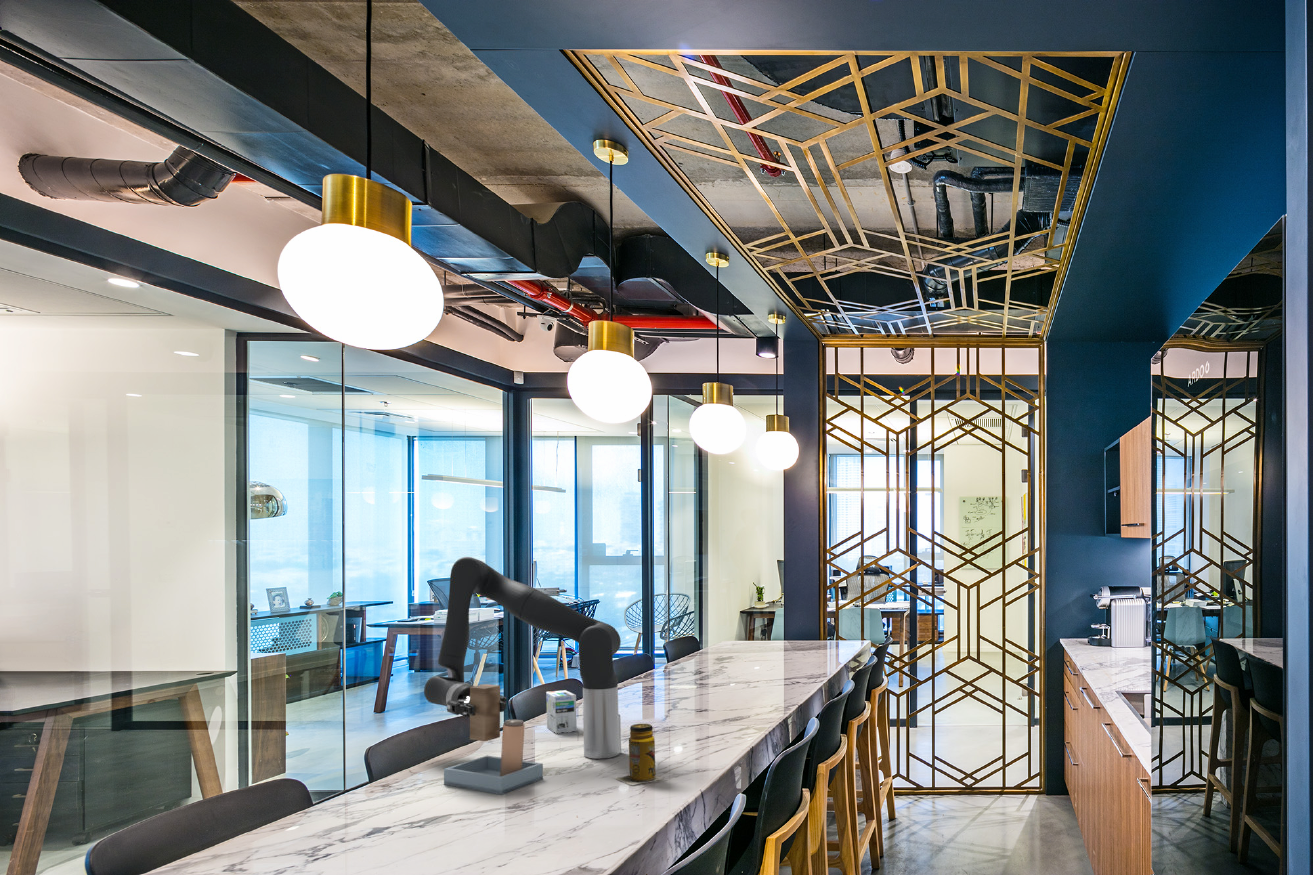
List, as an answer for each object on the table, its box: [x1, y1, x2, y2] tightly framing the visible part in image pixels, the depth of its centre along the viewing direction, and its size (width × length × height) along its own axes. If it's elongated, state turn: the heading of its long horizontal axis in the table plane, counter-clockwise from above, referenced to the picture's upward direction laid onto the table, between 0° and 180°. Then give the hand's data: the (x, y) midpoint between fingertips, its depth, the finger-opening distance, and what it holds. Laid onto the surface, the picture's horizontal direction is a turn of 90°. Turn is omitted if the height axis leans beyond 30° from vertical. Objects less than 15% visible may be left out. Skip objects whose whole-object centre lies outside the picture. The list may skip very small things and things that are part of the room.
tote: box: [443, 755, 544, 795], centre depth 196 cm, size 14×18×4 cm
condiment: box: [615, 723, 663, 786], centre depth 194 cm, size 7×8×12 cm
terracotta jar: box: [500, 719, 526, 776], centre depth 195 cm, size 5×5×13 cm
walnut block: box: [469, 683, 501, 742], centre depth 200 cm, size 5×5×12 cm
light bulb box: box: [545, 689, 578, 734], centre depth 251 cm, size 11×7×11 cm, turn 23°
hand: (488, 709), depth 198 cm, fingers closed on walnut block, 6 cm apart
